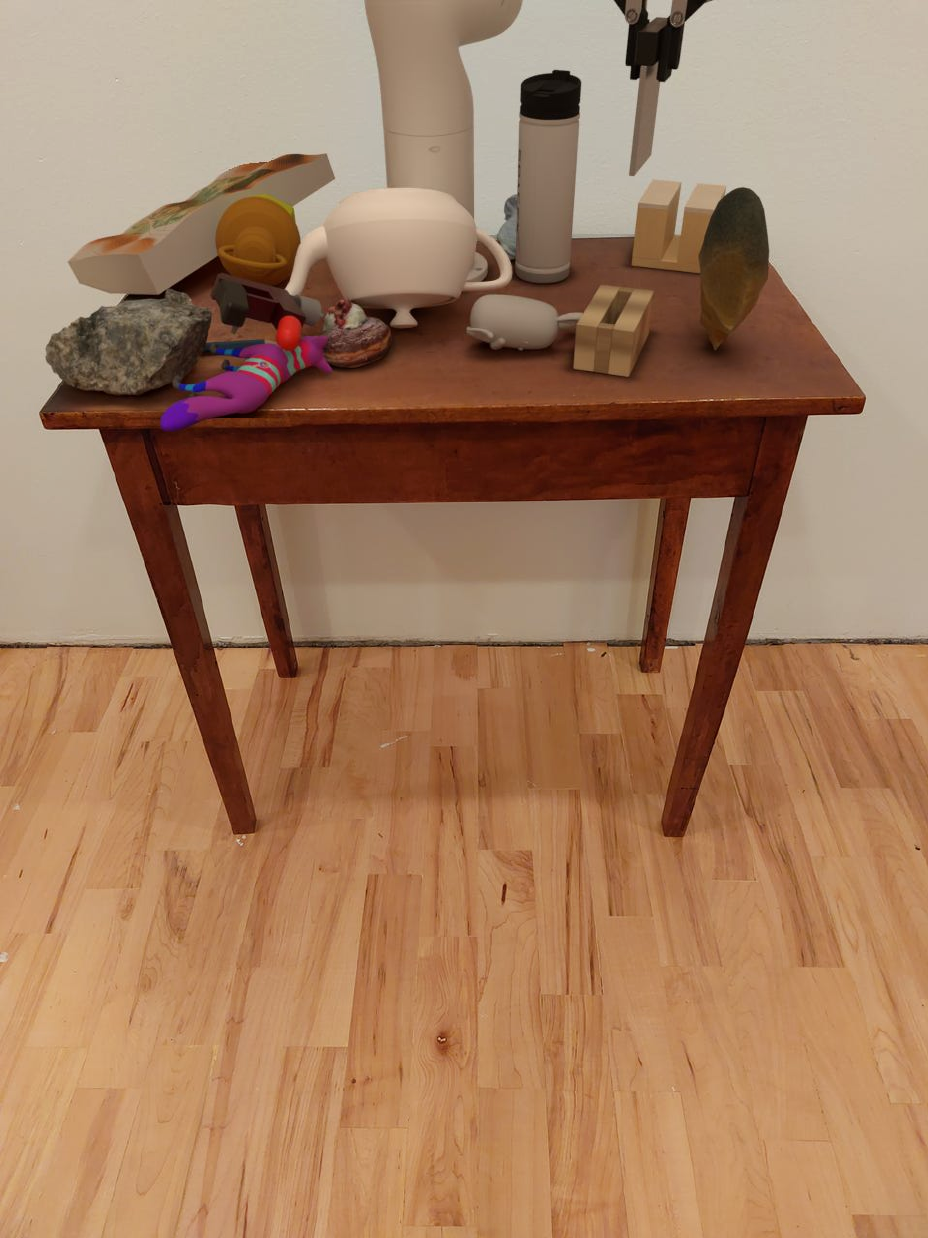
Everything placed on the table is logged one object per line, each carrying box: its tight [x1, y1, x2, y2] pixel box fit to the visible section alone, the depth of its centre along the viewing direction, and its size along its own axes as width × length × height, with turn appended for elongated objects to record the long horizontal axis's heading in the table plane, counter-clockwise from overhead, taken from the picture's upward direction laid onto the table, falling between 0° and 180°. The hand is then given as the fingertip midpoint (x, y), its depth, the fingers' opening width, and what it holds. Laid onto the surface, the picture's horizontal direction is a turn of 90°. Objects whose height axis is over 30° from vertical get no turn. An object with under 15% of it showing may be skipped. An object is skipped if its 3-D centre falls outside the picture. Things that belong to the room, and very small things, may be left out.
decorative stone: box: [698, 186, 770, 351], centre depth 85 cm, size 10×6×15 cm, turn 4°
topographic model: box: [67, 153, 336, 296], centre depth 108 cm, size 30×14×5 cm, turn 145°
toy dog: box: [159, 335, 333, 432], centre depth 83 cm, size 4×18×10 cm
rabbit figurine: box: [465, 293, 584, 351], centre depth 90 cm, size 6×5×12 cm
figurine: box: [496, 193, 517, 261], centre depth 111 cm, size 8×12×7 cm, turn 171°
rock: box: [44, 288, 213, 397], centre depth 85 cm, size 14×10×10 cm
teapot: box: [284, 187, 513, 329], centre depth 92 cm, size 25×16×12 cm
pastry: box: [316, 296, 393, 369], centre depth 89 cm, size 8×8×5 cm
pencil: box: [202, 338, 277, 354], centre depth 91 cm, size 1×1×15 cm
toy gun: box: [209, 272, 325, 351], centre depth 84 cm, size 10×12×5 cm
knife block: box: [572, 284, 655, 378], centre depth 89 cm, size 10×5×4 cm, turn 161°
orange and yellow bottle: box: [215, 194, 302, 287], centre depth 102 cm, size 9×9×25 cm
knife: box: [628, 16, 668, 177], centre depth 80 cm, size 7×2×11 cm, turn 159°
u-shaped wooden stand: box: [631, 179, 727, 274], centre depth 107 cm, size 9×9×7 cm
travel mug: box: [514, 69, 582, 285], centre depth 99 cm, size 6×7×20 cm
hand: (650, 75), depth 79 cm, fingers closed on knife, 1 cm apart
